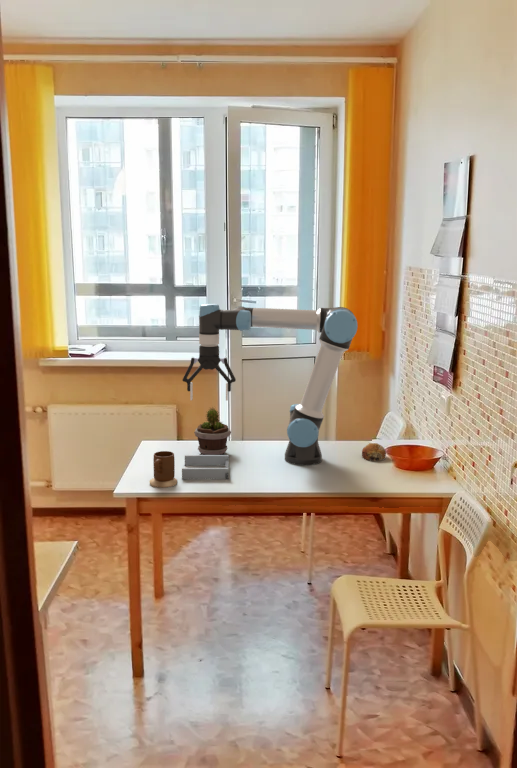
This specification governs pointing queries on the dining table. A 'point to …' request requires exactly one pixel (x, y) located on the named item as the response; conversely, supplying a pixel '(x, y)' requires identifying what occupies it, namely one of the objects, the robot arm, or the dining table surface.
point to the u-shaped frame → (206, 472)
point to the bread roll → (373, 452)
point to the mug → (164, 466)
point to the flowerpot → (212, 435)
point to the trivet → (163, 483)
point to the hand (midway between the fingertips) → (209, 399)
